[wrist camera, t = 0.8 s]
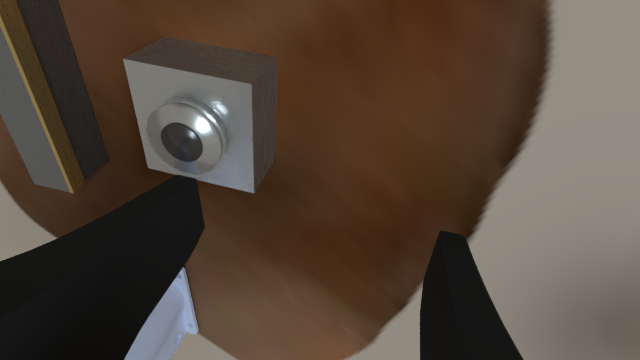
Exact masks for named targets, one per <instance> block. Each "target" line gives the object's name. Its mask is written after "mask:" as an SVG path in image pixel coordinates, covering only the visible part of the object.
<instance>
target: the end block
mask: <svg viewBox="0 0 640 360" xmlns="http://www.w3.org/2000/svg"><path fill="white" fill-rule="evenodd" d="M0 114H1V116H2V118H3V120H4V122H5V124H6V126H7V128H8V130H9V132H10V134H11V136H12V139H13V141H14V143H15V145H16V147H17V149H18V151H19V153H20V155H21V157H22V159H23V161H24V163H25V165H26V167H27V169H28V172H29V174H30V176H31V178H32V180H33V182H34V184H37V185H41V186H45V187H49V188H53V189H57V190H62V191H66V192H70V193H75V192H76V191H78V190H79V189H80V188H81V187H82V186H83V185H85V184H86V183H85V180H86V179H87V178H89V177H90V176H91V175H92V174H93V173H95V172H96V171H97V170H98V169H99V168H101V167H102V166H103V165H104V164H105V163H107V162H108V161H109V159H108V156H107V153H106V150H105V147H104V144H103V141H102V138H101V134H100V131H99V128H98V125H97V122H96V119H95V116H94V113H93V110H92V106H91V103H90V100H89V97H88V94H87V91H86V88H85V85H84V82H83V78H82V75H81V72H80V69H79V66H78V63H77V60H76V57H75V54H74V50H73V47H72V44H71V41H70V38H69V35H68V32H67V29H66V26H65V22H64V19H63V16H62V13H61V10H60V7H59V4H58V1H57V0H0Z"/></svg>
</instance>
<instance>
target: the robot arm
mask: <svg viewBox="0 0 640 360" xmlns="http://www.w3.org/2000/svg"><path fill="white" fill-rule="evenodd" d="M204 228H205V225H204V220H203V214H202V208H201V202H200V197H199V191H198V185H197V179H196V178H191V177H187V176H182V175H176V176H174V177H172V178H170V179H169V180H167V181H165V182H163V183H161V184H160V185H158V186H156V187H154V188H153V189H151V190H149V191H147V192H146V193H144V194H142V195H140V196H139V197H137V198H135V199H133V200H131V201H130V202H128V203H126V204H124V205H123V206H121V207H119V208H117V209H115V210H114V211H112V212H110V213H108V214H106V215H104V216H102V217H100V218H98V219H96V220H94V221H92V222H90V223H89V224H87V225H85V226H83V227H81V228H79V229H77V230H75V231H73V232H71V233H69V234H66V235H64V236H62V237H60V238H58V239H56V240H53V241H51V242H49V243H46V244H44V245H42V246H39V247H37V248H35V249H32V250H30V251H27V252H25V253H22V254H19V255H16V256H14V257H11V258H9V259H6V260H3V261H0V360H171V359H172V357H173V355H174V354H175V352H176V350H177V348H178V347H179V345H180V343H181V341H182V339H183V338H184V336H185V334H186V333H190V334H197V332H198V330H199V329H198V325H197V320H196V316H195V311H194V306H193V302H192V297H191V293H190V288H189V284H188V279H187V275H186V270H185V268H184V267H183V266H184V265H185V263H186V262H187V260H188V259H189V257H190V256H191V254H192V252H193V250H194V248H195V246H196V245H197V243H198V241H199V238H200V236H201V234H202V232H203V230H204ZM420 360H523V358H522V356H521V355H520V353H519V351H518V349H517V348H516V346H515V345H514V342H513V341H512V339H511V337H510V335H509V333H508V332H507V330H506V328H505V326H504V324H503V322H502V320H501V318H500V317H499V314H498V312H497V310H496V308H495V306H494V304H493V302H492V300H491V298H490V296H489V294H488V292H487V290H486V287H485V285H484V283H483V281H482V278H481V276H480V273H479V271H478V269H477V266H476V264H475V261H474V259H473V256H472V254H471V251H470V248H469V245H468V243H467V240H466V238H465V237H464V235H460V234H455V233H450V232H446V231H441V230H440V233H439V236H438V239H437V242H436V244H435V247H434V250H433V253H432V256H431V259H430V262H429V265H428V268H427V271H426V274H425V277H424V281H423V291H422V299H421V309H420Z"/></svg>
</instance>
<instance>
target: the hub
mask: <svg viewBox="0 0 640 360" xmlns="http://www.w3.org/2000/svg"><path fill="white" fill-rule="evenodd" d="M123 60H124V65H125V69H126V73H127V78H128V82H129V86H130V91H131V95H132V100H133V104H134V108H135V113H136V117H137V122H138V126H139V130H140V135H141V139H142V143H143V148H144V152H145V157H146V161H147V165H148V168H150V169H154V170H158V171H162V172H166V173H171V174H175V175H182V176H187V177H191V178H196V179H197V180H200V181H204V182H208V183H213V184H217V185H221V186H225V187H229V188H234V189H238V190H242V191H246V192H250V193H255V191H256V189H257V188H258V186H259V185H260V183H261V181H262V180H263V178H264V176H265V175H266V173H267V172H268V170H269V168H270V167H271V165H272V163H273V162H274V160H275V159H276V114H277V65H278V57H275V56H269V55H264V54H258V53H253V52H247V51H242V50H237V49H231V48H226V47H220V46H215V45H209V44H204V43H199V42H193V41H188V40H182V39H177V38H171V37H166V36H164V37H162V38H160V39H159V40H157V41H155V42H153V43H151V44H149V45H148V46H146V47H144V48H142V49H140V50H139V51H137V52H135V53H133V54H131V55H129V56H128V57H126V58H124V59H123Z"/></svg>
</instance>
